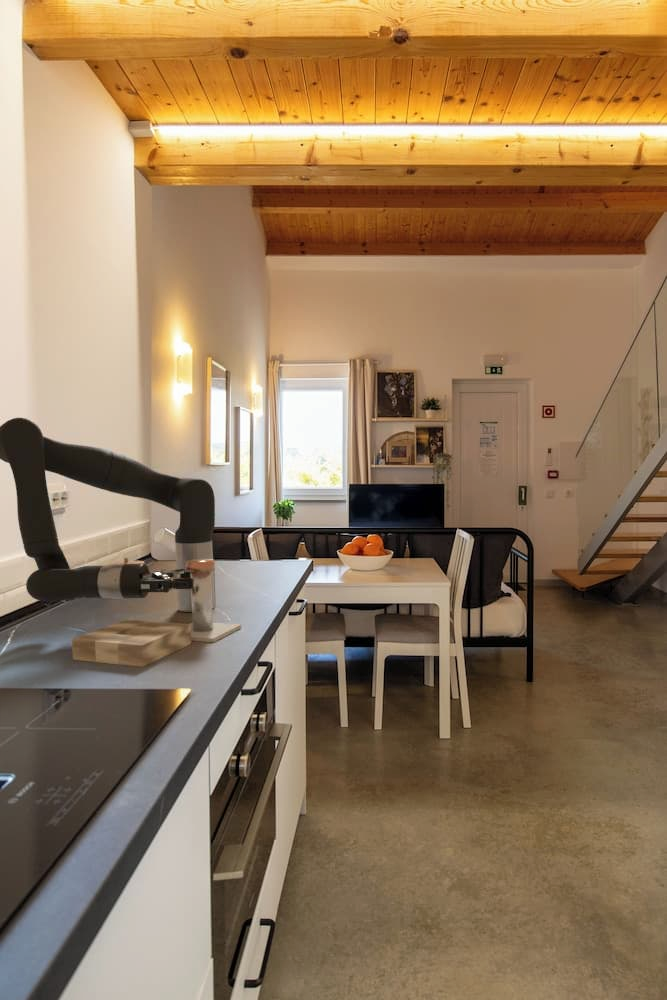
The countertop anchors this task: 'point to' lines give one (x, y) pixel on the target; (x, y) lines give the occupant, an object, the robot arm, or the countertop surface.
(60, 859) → the countertop surface
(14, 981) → the countertop surface
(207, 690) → the countertop surface
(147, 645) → the bore block
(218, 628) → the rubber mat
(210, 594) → the copper-capped metal cylinder
